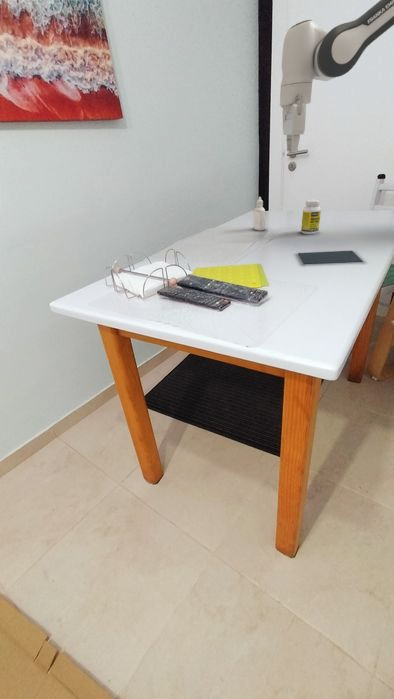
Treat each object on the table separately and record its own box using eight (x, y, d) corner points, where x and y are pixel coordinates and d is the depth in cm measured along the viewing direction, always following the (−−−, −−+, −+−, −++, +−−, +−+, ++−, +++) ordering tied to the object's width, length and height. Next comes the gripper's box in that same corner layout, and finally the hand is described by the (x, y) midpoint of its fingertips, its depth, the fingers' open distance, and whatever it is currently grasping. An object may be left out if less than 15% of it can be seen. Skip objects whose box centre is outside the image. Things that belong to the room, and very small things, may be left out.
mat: (351, 251, 103) (352, 250, 103) (362, 261, 95) (362, 261, 95) (298, 253, 105) (298, 253, 105) (304, 264, 97) (304, 263, 97)
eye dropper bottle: (253, 231, 133) (253, 198, 126) (253, 227, 137) (254, 196, 131) (264, 230, 132) (265, 197, 126) (264, 227, 137) (265, 195, 130)
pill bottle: (310, 235, 121) (313, 202, 116) (297, 232, 126) (300, 201, 120) (322, 232, 124) (325, 200, 118) (309, 229, 129) (312, 198, 123)
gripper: (313, 92, 90) (308, 152, 97) (300, 99, 107) (296, 149, 114) (289, 95, 90) (285, 154, 98) (280, 101, 107) (278, 151, 115)
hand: (291, 152), depth 106 cm, fingers open, 8 cm apart
